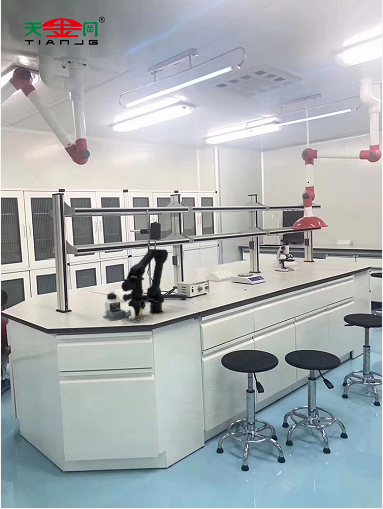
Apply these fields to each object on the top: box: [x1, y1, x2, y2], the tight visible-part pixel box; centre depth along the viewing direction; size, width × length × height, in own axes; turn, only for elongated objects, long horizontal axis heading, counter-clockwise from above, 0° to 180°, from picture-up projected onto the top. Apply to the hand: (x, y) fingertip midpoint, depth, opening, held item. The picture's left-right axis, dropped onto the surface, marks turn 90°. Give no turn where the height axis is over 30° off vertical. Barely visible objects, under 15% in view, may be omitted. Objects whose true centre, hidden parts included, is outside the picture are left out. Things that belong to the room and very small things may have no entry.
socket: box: [102, 308, 132, 322], centre depth 240 cm, size 15×11×4 cm
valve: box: [133, 304, 143, 320], centre depth 235 cm, size 4×4×8 cm
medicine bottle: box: [104, 292, 121, 313], centre depth 252 cm, size 7×7×12 cm
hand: (138, 315), depth 235 cm, fingers closed on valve, 4 cm apart
